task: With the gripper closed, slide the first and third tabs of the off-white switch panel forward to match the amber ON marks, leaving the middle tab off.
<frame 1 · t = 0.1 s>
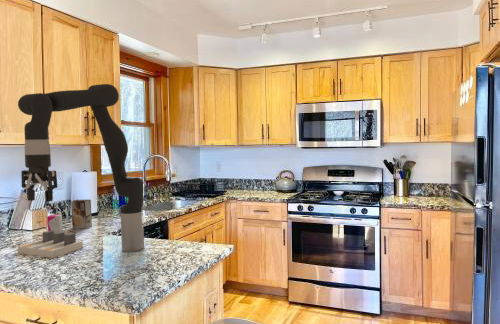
hand: (40, 200, 124), 29 cm above the worktop, tool pointing down, fingers open, 8 cm apart
tab b: (59, 238, 171), point 4 cm above the worktop, slide at 0.0 cm
coffee box: (82, 227, 213), on the worktop
tab a: (69, 239, 168), point 4 cm above the worktop, slide at 0.0 cm
tab c: (48, 237, 174), point 4 cm above the worktop, slide at 0.0 cm
switch panel: (50, 250, 167), on the worktop
supplement box: (55, 236, 192), on the worktop
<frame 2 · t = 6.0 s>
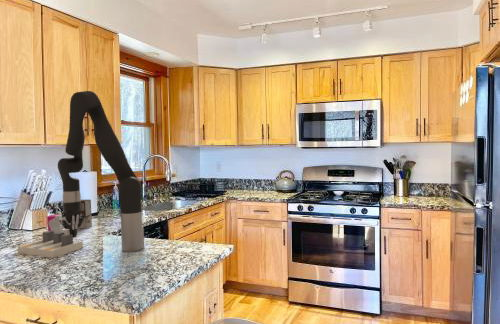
hand: (73, 237, 170), 5 cm above the worktop, tool pointing down, fingers closed
tab a: (67, 240, 167), point 4 cm above the worktop, slide at 1.5 cm, touching gripper
everything else where it was.
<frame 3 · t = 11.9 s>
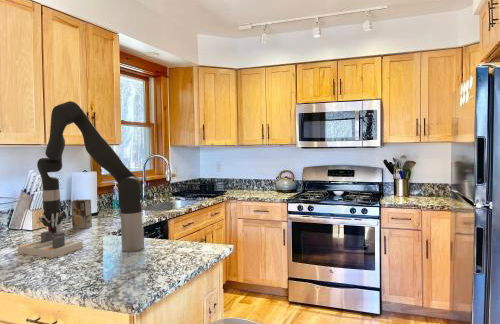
hand: (53, 234, 176), 5 cm above the worktop, tool pointing down, fingers closed
tab a: (58, 243, 163), point 4 cm above the worktop, slide at 6.1 cm
tab c: (46, 237, 173), point 4 cm above the worktop, slide at 1.0 cm, touching gripper
everything else where it was.
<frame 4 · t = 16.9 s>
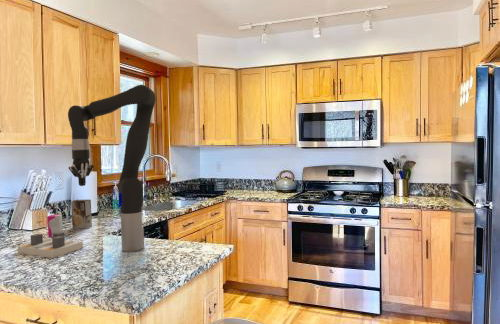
hand: (82, 185, 171), 29 cm above the worktop, tool pointing down, fingers closed
tab c: (36, 240, 168), point 4 cm above the worktop, slide at 6.1 cm
everything else where it was.
at the end: tab a slide at 6.1 cm; tab c slide at 6.1 cm; tab b slide at 0.0 cm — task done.
